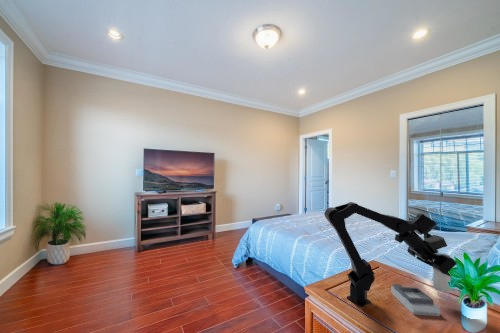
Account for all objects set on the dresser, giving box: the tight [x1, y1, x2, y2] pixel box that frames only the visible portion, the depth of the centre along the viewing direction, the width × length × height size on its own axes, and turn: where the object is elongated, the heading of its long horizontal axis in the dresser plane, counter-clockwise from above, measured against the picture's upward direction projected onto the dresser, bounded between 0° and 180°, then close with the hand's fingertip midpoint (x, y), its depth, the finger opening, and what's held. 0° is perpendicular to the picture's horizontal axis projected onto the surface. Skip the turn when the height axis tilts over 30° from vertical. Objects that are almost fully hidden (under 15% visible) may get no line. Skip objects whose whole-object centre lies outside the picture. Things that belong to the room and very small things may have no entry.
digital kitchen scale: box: [390, 283, 441, 317], centre depth 84 cm, size 9×14×4 cm, turn 175°
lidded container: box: [432, 251, 452, 294], centre depth 83 cm, size 5×5×13 cm
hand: (445, 272), depth 83 cm, fingers closed on lidded container, 5 cm apart
